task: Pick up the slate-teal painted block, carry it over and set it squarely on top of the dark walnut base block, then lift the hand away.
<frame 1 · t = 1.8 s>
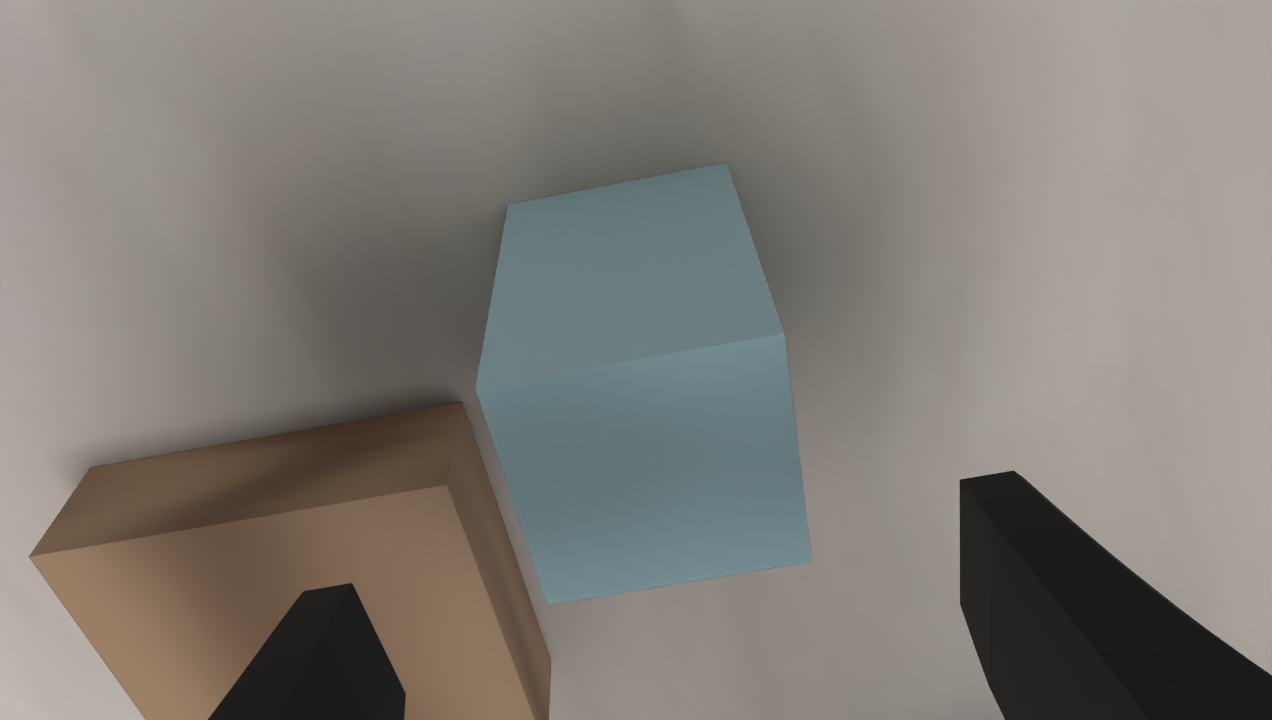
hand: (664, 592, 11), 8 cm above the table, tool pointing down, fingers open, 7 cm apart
teal block: (636, 280, 18), on the table
walnut base block: (343, 561, 22), on the table
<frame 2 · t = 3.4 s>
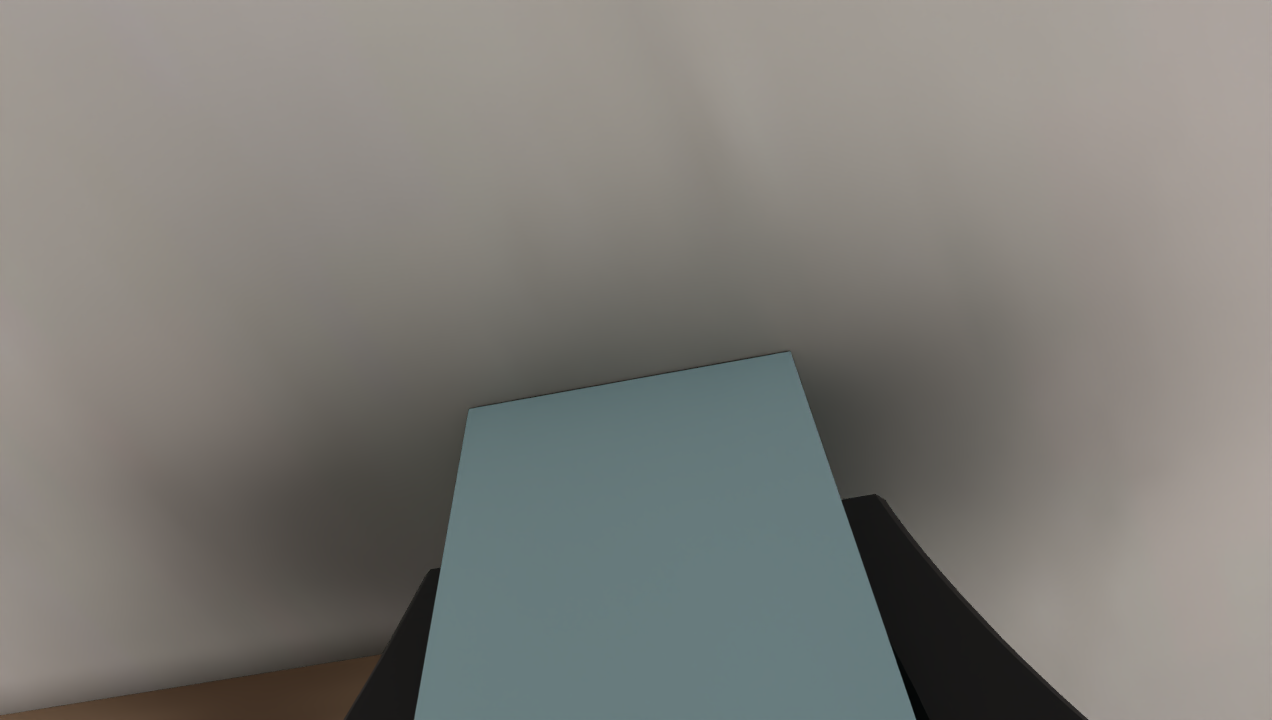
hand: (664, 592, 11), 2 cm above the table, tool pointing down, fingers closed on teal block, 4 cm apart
teal block: (655, 502, 13), on the table, touching gripper
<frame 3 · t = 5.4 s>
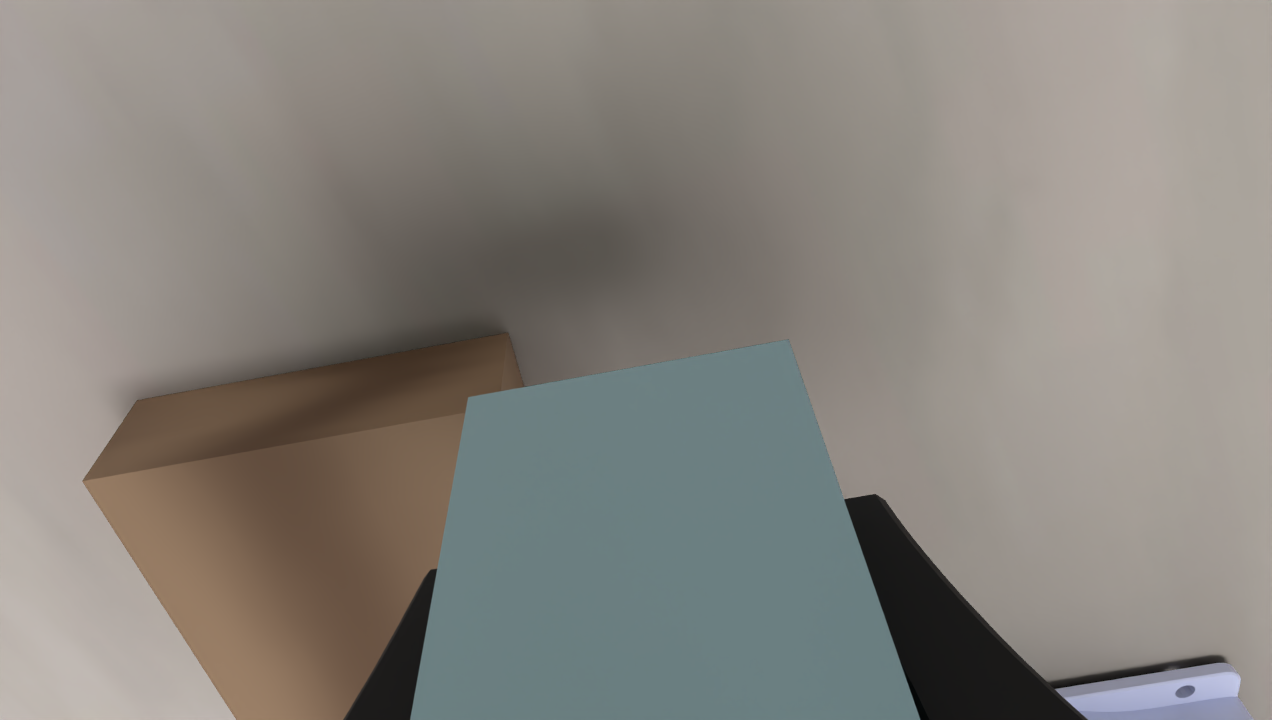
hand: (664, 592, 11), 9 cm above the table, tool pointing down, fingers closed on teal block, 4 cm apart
teal block: (654, 491, 13), point 7 cm above the table, touching gripper
walnut base block: (385, 499, 22), on the table
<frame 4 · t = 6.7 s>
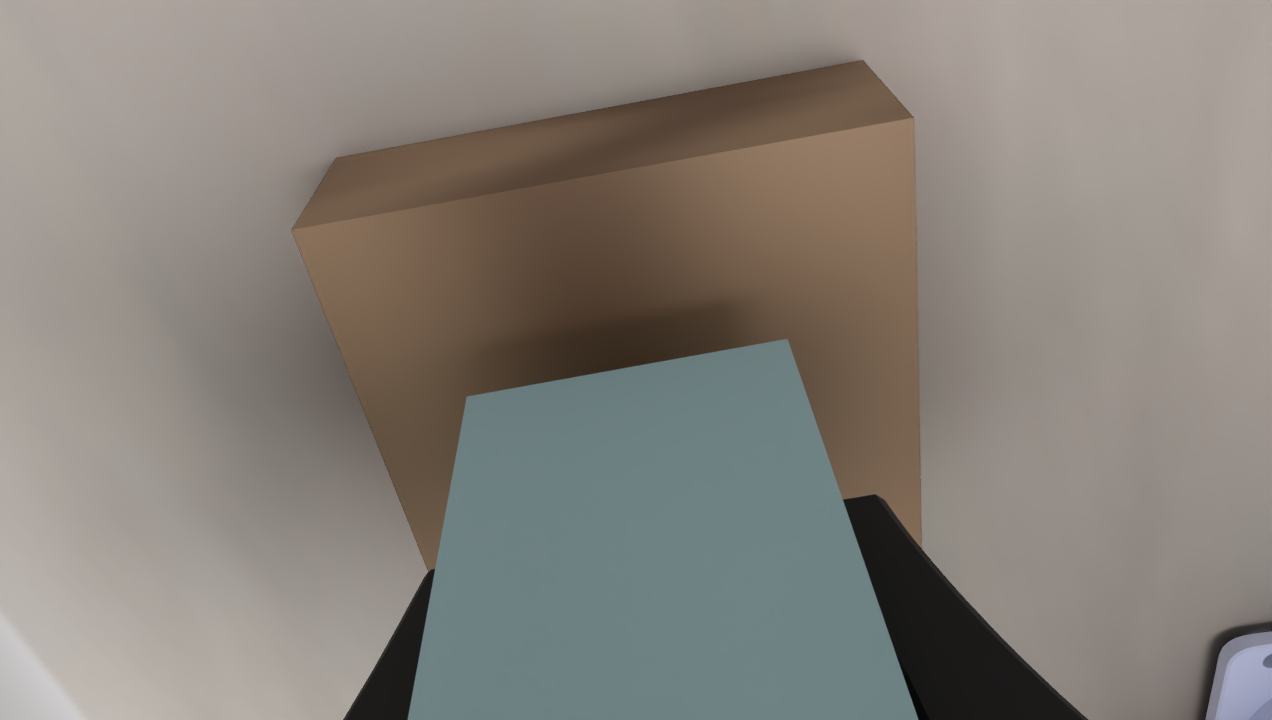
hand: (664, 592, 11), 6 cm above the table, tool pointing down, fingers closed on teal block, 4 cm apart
teal block: (653, 491, 13), point 4 cm above the table, touching gripper
walnut base block: (639, 324, 17), on the table
when the fingers open (6 cm above the table, at t = 7.6 s): teal block drops 1 cm, point 3 cm above the table.
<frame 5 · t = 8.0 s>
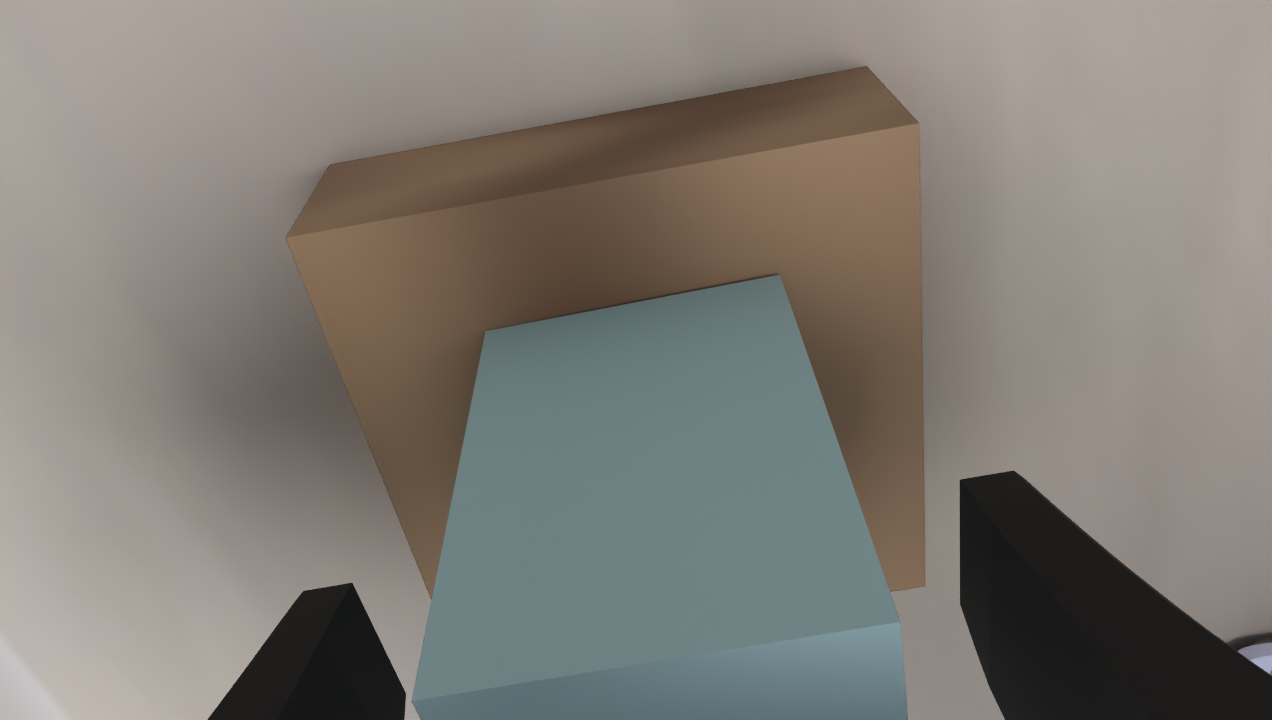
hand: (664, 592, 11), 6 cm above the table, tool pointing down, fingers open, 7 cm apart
teal block: (658, 422, 14), point 3 cm above the table
walnut base block: (638, 331, 17), on the table
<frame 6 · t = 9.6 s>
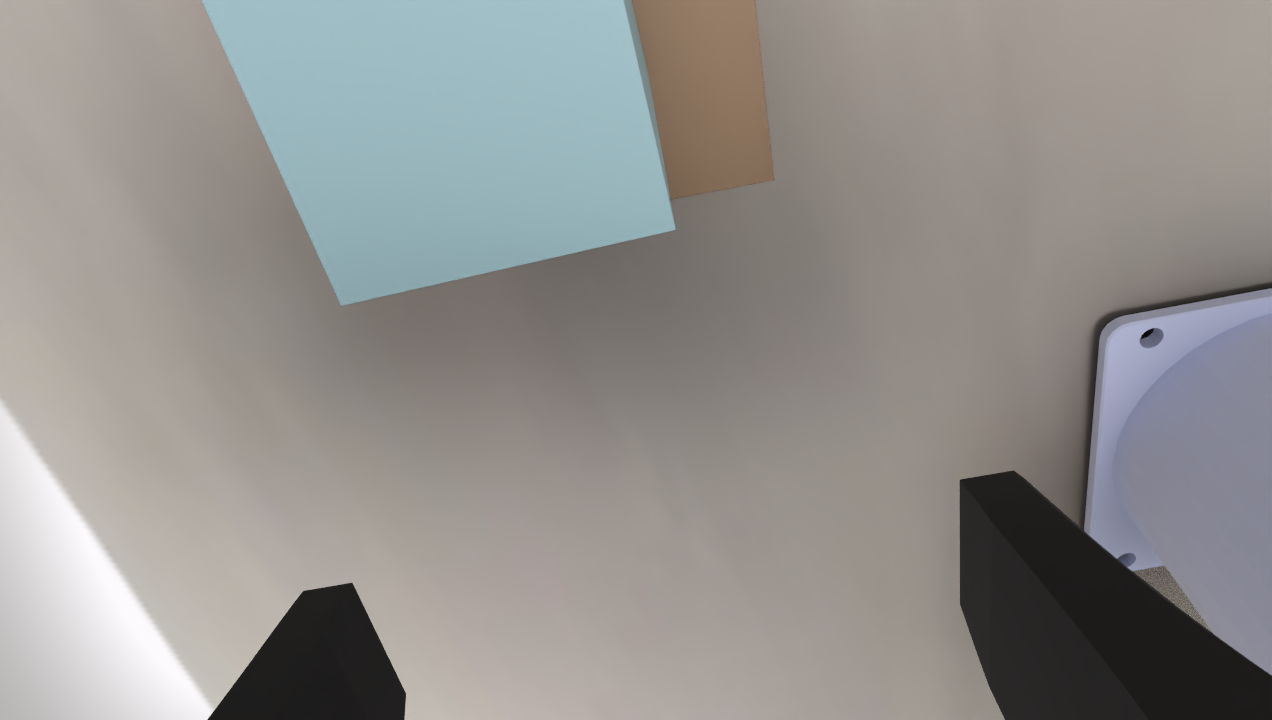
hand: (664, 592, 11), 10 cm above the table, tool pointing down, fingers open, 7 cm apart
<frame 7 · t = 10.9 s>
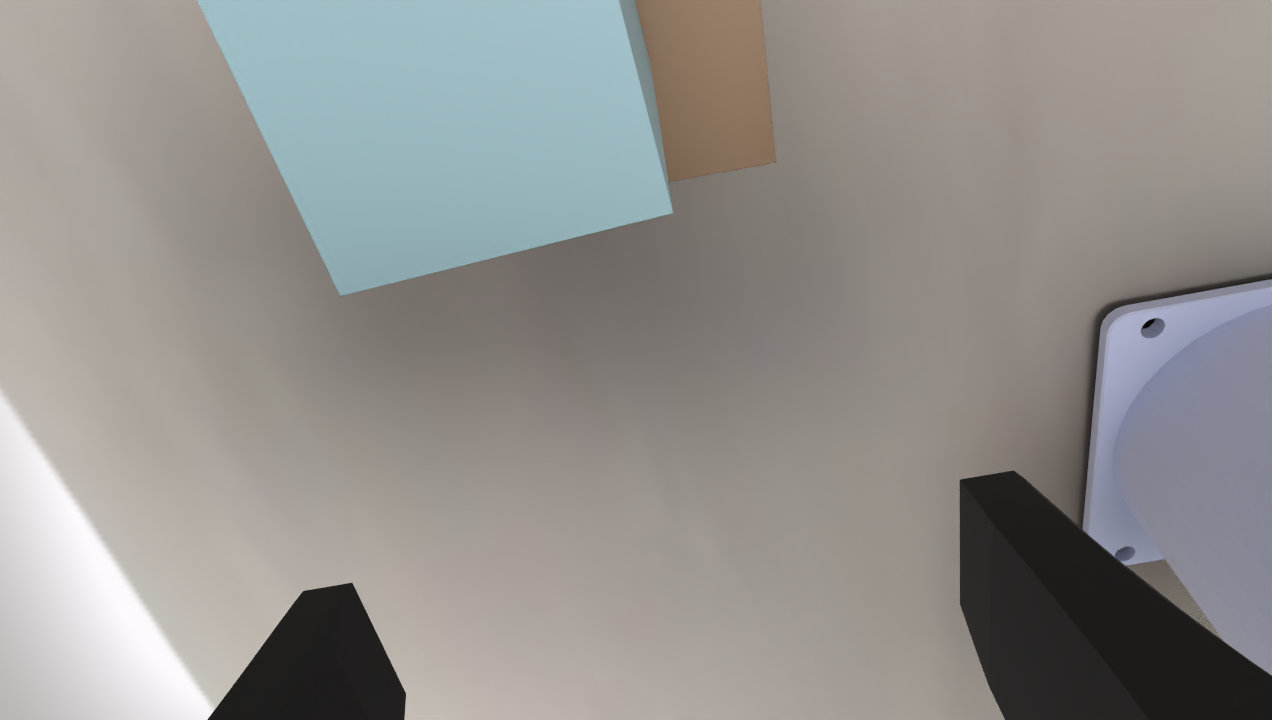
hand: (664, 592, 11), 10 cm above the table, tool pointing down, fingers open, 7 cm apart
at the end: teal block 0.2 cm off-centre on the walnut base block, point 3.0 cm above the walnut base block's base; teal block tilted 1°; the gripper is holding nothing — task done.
